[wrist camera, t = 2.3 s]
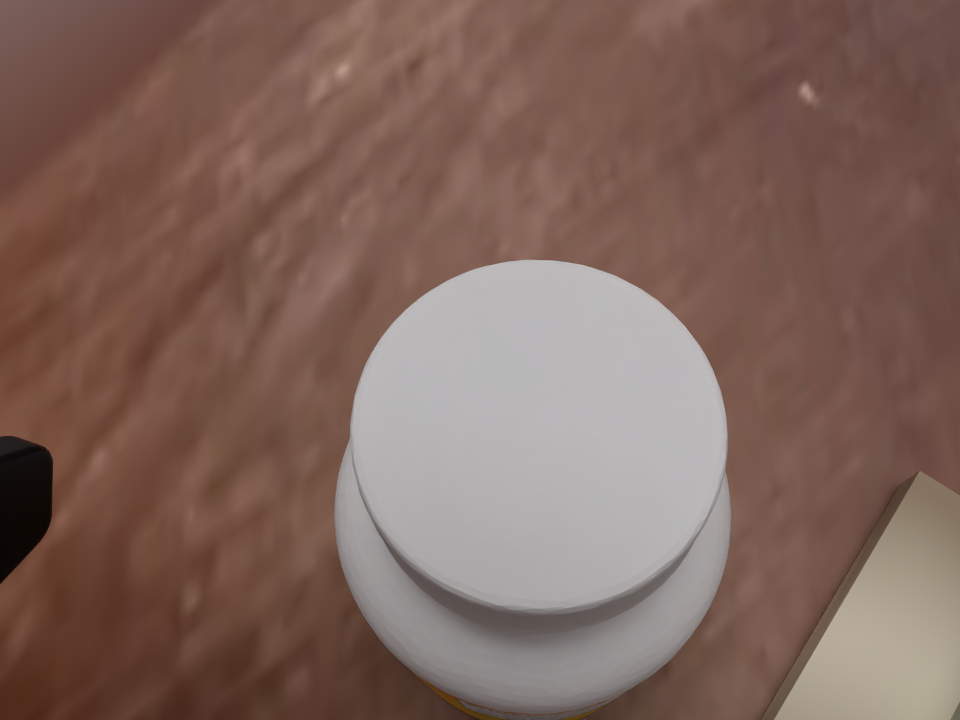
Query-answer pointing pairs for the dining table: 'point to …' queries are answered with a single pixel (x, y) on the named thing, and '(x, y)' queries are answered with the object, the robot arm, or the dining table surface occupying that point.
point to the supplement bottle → (535, 489)
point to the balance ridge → (889, 622)
